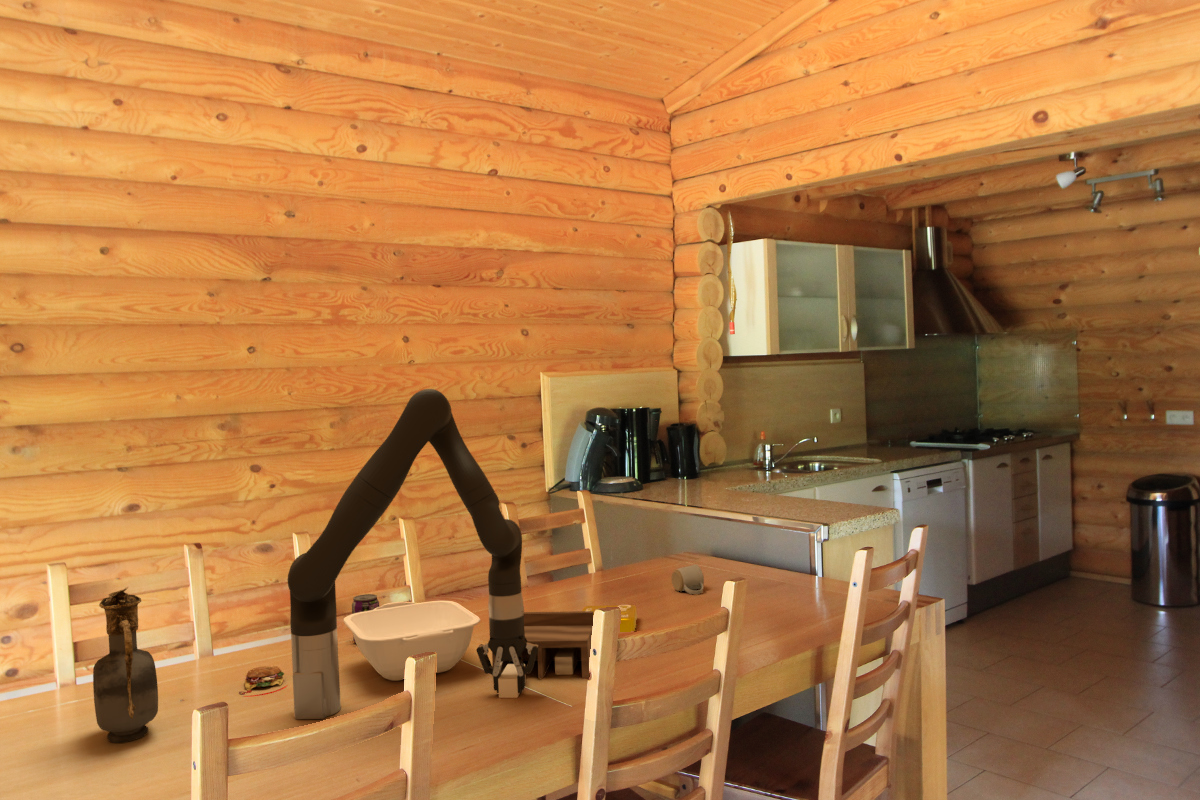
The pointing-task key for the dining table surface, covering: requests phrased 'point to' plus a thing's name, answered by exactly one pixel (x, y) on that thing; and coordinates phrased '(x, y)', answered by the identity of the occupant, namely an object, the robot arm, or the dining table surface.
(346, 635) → the dining table surface
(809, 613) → the dining table surface
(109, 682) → the pitcher
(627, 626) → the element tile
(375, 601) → the beverage can
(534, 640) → the walnut shelf
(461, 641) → the white plastic basin
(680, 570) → the ceramic mug
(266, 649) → the dining table surface
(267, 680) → the hamburger
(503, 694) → the cream block
